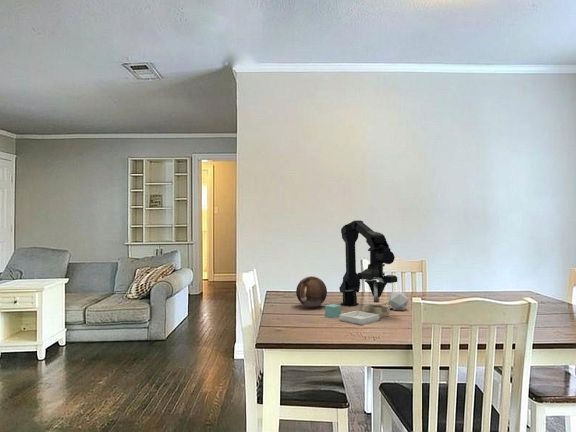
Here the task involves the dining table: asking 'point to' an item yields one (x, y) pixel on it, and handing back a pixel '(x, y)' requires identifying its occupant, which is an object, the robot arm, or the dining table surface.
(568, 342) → the dining table surface
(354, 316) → the tray
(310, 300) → the wooden sphere
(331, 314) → the block
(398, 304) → the die
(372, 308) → the hollow square frame
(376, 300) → the rod
